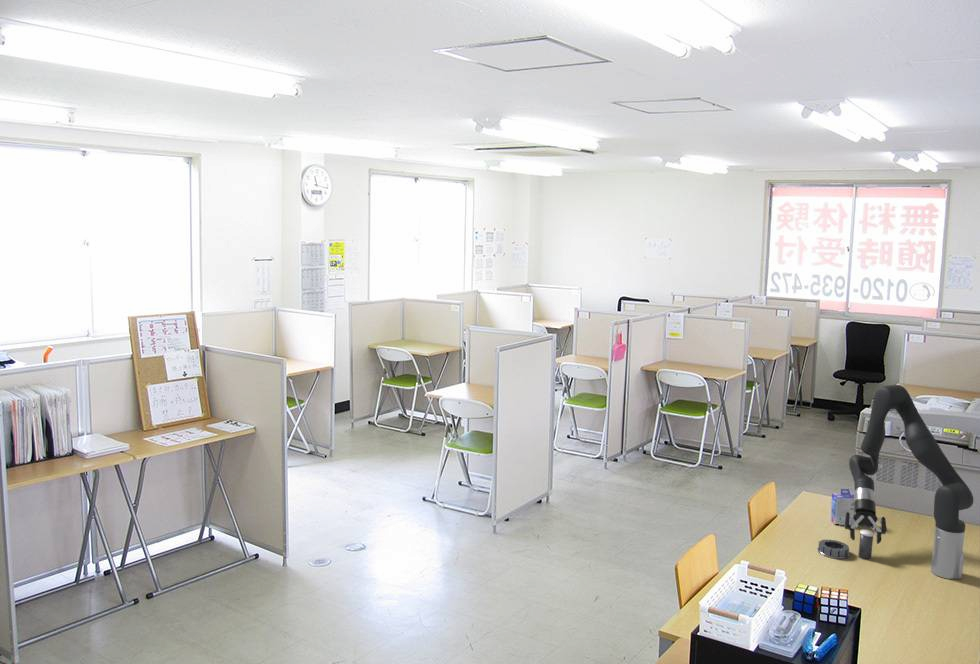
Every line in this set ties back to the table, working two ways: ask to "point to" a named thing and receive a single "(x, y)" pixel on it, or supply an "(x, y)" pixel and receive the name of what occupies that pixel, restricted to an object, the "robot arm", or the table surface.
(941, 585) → the table surface
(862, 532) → the tube
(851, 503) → the ink cartridge box
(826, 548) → the dark grey ridged ring
